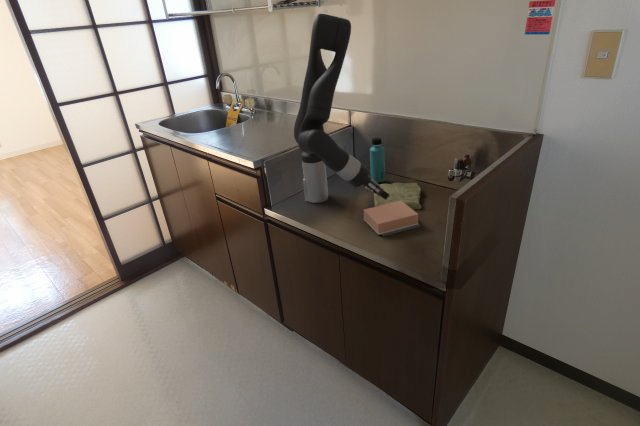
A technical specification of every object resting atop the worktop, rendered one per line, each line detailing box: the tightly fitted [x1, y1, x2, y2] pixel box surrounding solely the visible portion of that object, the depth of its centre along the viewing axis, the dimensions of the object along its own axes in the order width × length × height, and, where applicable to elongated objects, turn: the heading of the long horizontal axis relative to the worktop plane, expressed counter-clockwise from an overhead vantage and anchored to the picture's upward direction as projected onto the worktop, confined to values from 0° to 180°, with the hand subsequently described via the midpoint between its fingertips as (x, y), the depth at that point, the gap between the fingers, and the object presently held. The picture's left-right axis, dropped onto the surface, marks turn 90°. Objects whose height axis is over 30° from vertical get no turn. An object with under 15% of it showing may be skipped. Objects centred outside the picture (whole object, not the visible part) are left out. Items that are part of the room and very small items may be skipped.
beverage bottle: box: [369, 137, 387, 183], centre depth 164 cm, size 6×7×20 cm
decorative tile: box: [373, 182, 422, 210], centre depth 153 cm, size 19×20×4 cm
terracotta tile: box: [363, 201, 419, 235], centre depth 135 cm, size 4×12×15 cm
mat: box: [380, 223, 420, 237], centre depth 136 cm, size 14×13×1 cm
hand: (386, 196), depth 131 cm, fingers closed
